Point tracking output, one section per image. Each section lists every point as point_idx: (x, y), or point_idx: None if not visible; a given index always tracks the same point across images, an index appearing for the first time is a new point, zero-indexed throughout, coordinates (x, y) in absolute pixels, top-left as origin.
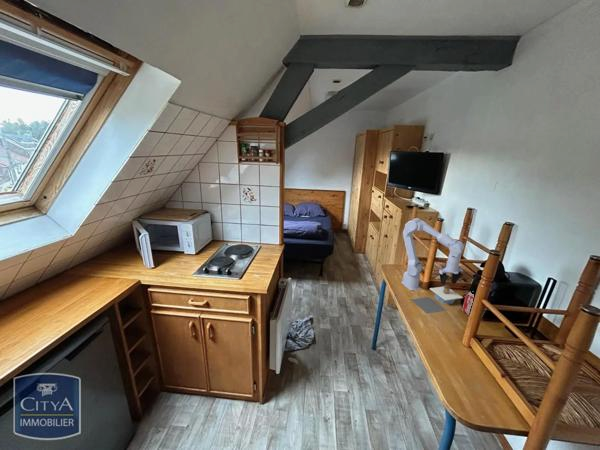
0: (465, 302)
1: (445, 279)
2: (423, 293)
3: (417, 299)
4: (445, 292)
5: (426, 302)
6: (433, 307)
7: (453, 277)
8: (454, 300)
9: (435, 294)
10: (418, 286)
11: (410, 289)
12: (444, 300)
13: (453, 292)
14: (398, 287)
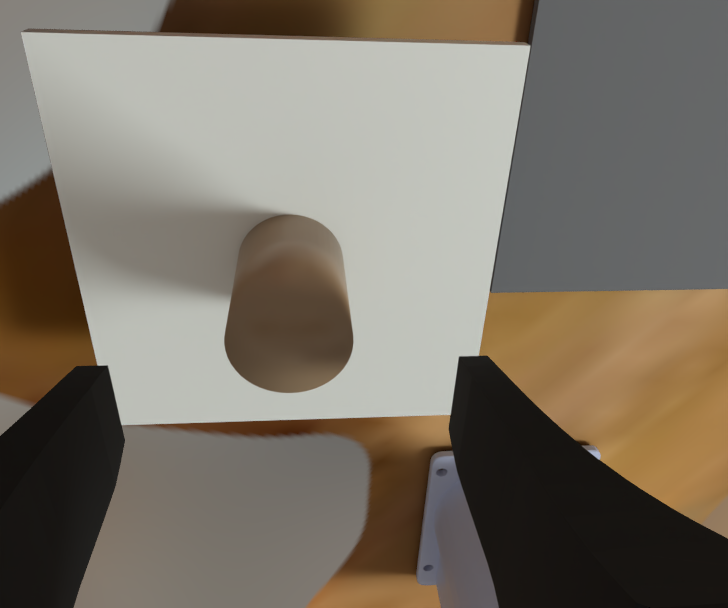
0: None
1: (611, 490)
2: None
3: (718, 268)
4: (338, 250)
5: (670, 180)
6: (701, 35)
7: (63, 569)
8: None
9: None
10: (432, 493)
11: (595, 456)
12: None
13: (117, 241)
14: (667, 505)
